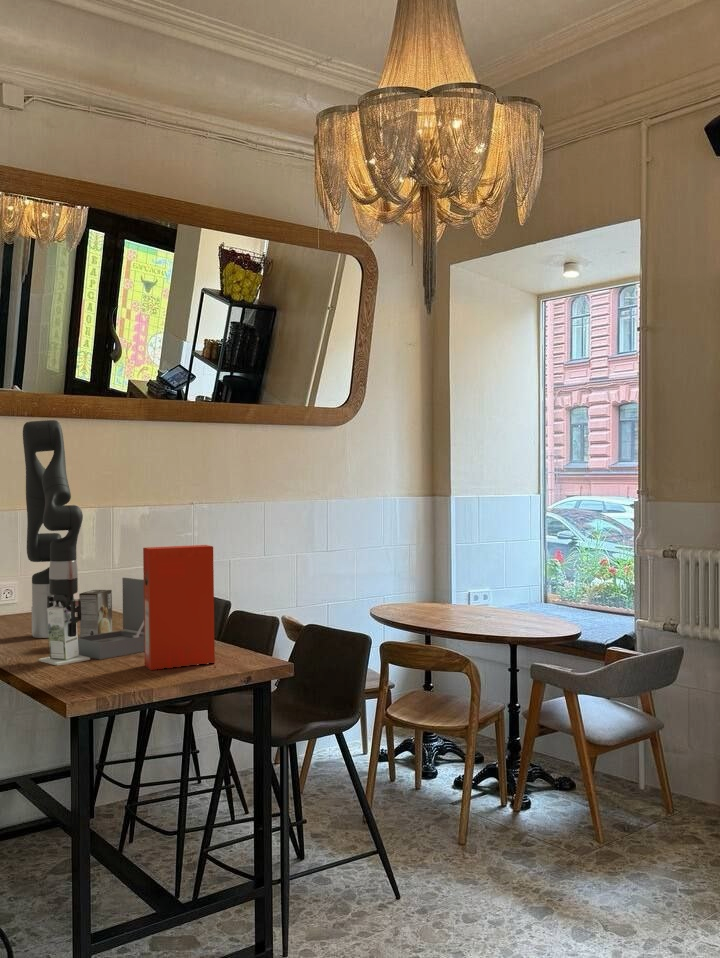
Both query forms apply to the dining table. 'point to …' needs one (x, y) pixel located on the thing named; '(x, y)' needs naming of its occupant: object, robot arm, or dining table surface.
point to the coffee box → (96, 612)
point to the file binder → (178, 606)
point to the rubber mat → (62, 662)
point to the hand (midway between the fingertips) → (64, 634)
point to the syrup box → (61, 635)
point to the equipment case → (132, 627)
